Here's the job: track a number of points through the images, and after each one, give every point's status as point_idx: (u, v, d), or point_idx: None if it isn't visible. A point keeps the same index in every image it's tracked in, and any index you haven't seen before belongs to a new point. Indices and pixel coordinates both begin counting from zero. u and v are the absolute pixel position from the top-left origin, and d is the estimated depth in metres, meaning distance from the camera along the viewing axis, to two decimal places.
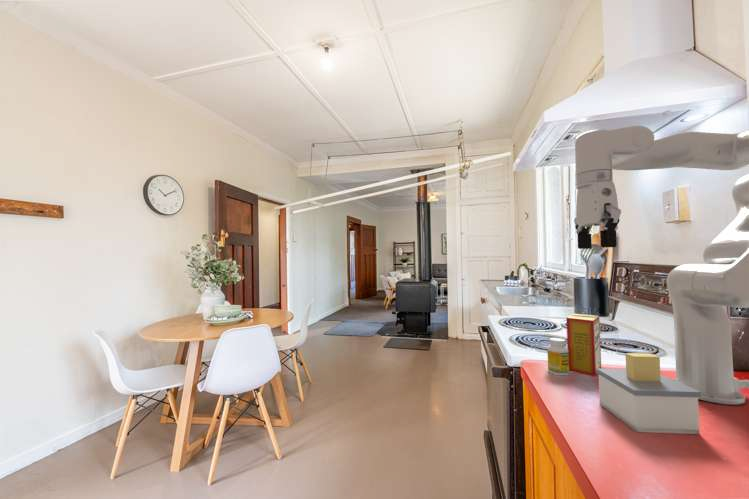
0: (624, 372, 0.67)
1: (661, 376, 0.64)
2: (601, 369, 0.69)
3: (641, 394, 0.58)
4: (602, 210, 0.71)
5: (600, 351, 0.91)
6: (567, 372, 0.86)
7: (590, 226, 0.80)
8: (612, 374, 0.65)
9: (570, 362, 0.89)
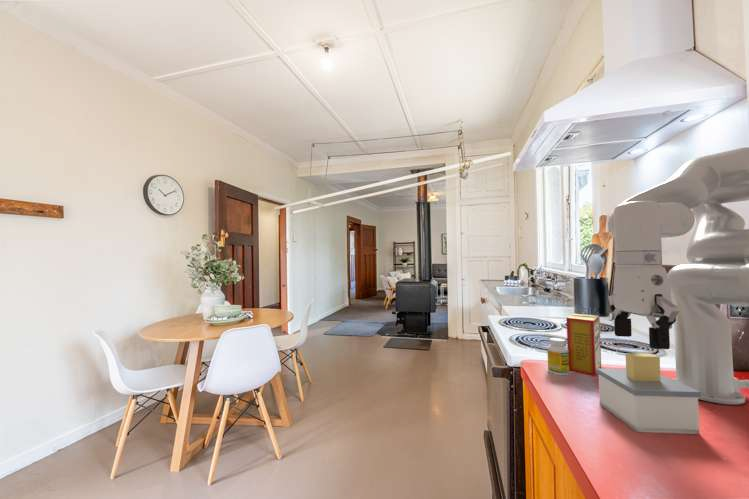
0: (624, 372, 0.67)
1: (661, 376, 0.64)
2: (601, 369, 0.69)
3: (641, 394, 0.58)
4: (652, 302, 0.58)
5: (600, 351, 0.91)
6: (567, 372, 0.86)
7: None
8: (612, 374, 0.65)
9: (570, 362, 0.89)
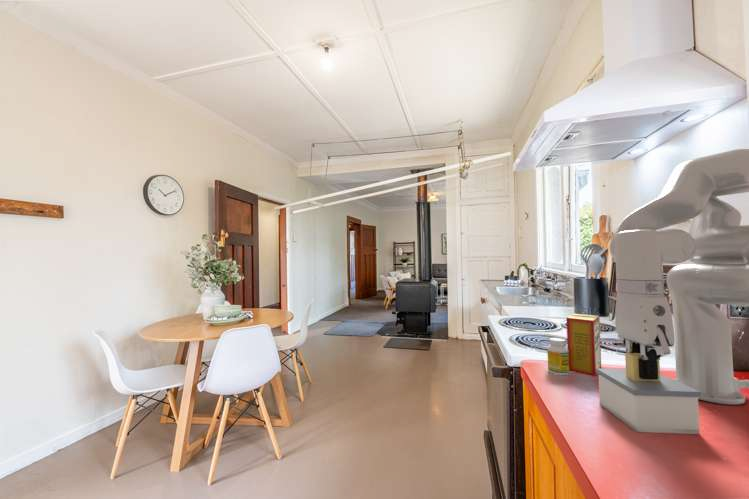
0: (624, 372, 0.67)
1: (661, 376, 0.64)
2: (601, 369, 0.69)
3: (641, 394, 0.58)
4: (654, 333, 0.58)
5: (600, 351, 0.91)
6: (567, 372, 0.86)
7: None
8: (612, 374, 0.65)
9: (570, 362, 0.89)
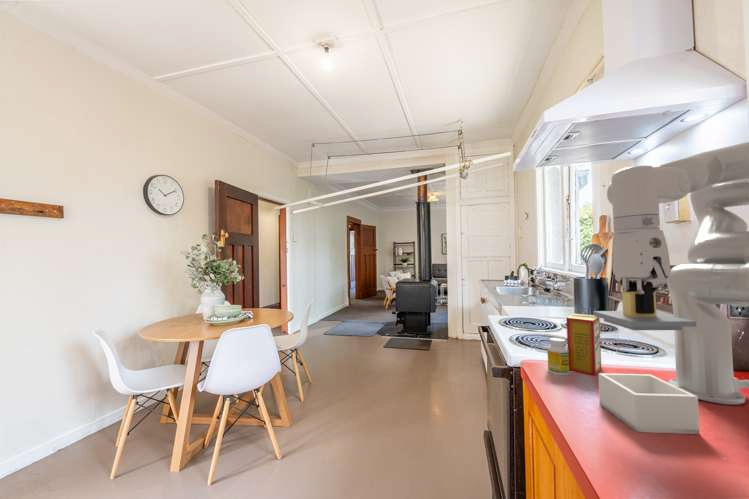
0: (621, 312, 0.67)
1: (657, 314, 0.65)
2: (598, 311, 0.69)
3: (638, 325, 0.58)
4: (651, 265, 0.59)
5: (600, 351, 0.91)
6: (567, 372, 0.86)
7: None
8: (609, 314, 0.66)
9: (570, 362, 0.89)
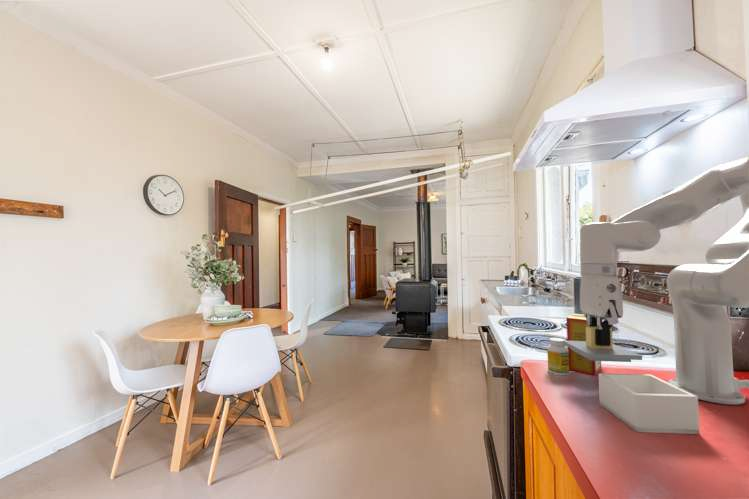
0: (585, 343, 0.80)
1: (614, 346, 0.77)
2: (567, 341, 0.82)
3: (594, 357, 0.71)
4: (607, 306, 0.71)
5: None
6: (567, 372, 0.86)
7: None
8: (574, 344, 0.78)
9: (570, 362, 0.89)
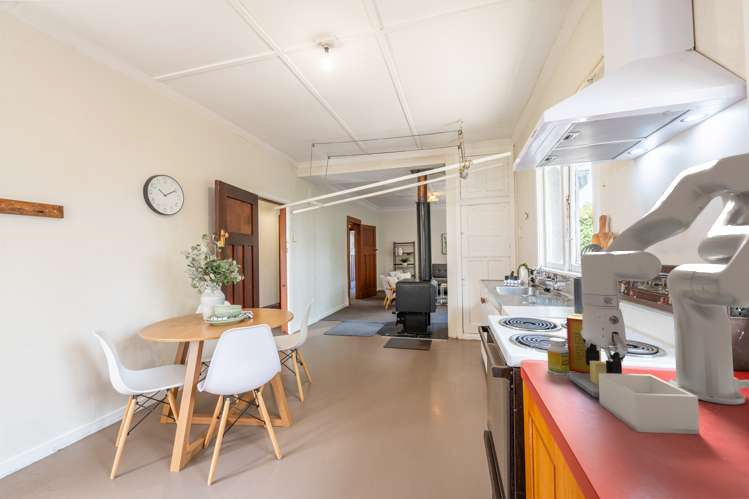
0: (589, 376, 0.79)
1: None
2: (571, 374, 0.81)
3: None
4: (610, 339, 0.71)
5: (600, 351, 0.91)
6: (567, 372, 0.86)
7: None
8: (579, 379, 0.78)
9: (570, 362, 0.89)
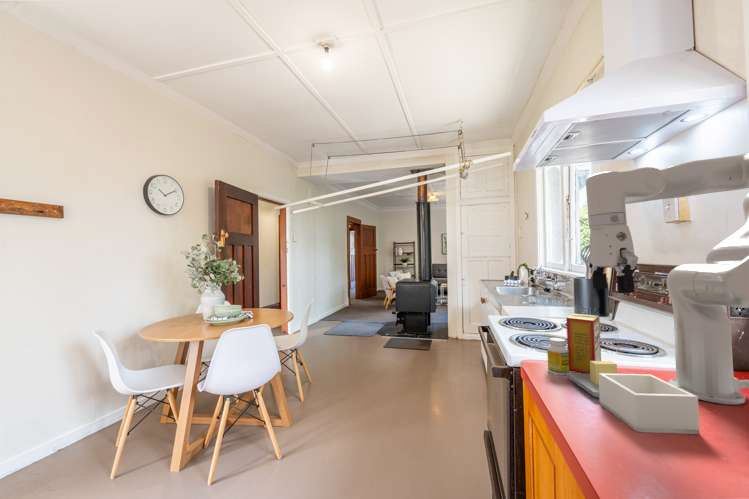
0: (589, 376, 0.79)
1: None
2: (571, 374, 0.81)
3: None
4: (618, 255, 0.70)
5: (600, 351, 0.91)
6: (567, 372, 0.86)
7: None
8: (579, 379, 0.78)
9: (570, 362, 0.89)
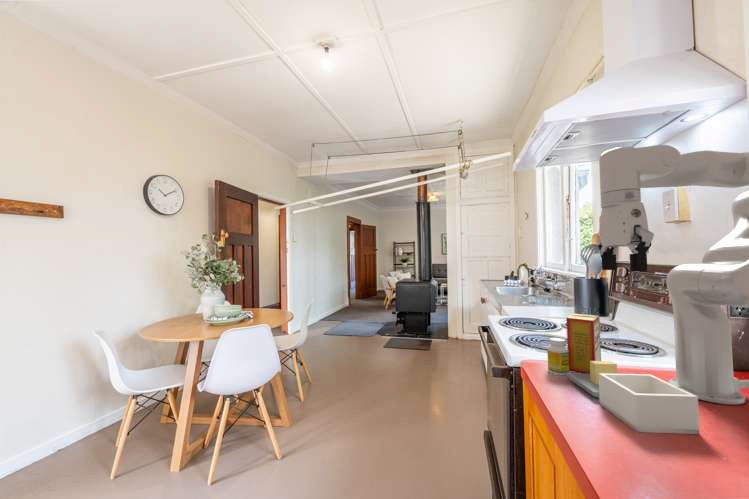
0: (589, 376, 0.79)
1: None
2: (571, 374, 0.81)
3: None
4: (632, 232, 0.68)
5: (600, 351, 0.91)
6: (567, 372, 0.86)
7: (615, 247, 0.76)
8: (579, 379, 0.78)
9: (570, 362, 0.89)
